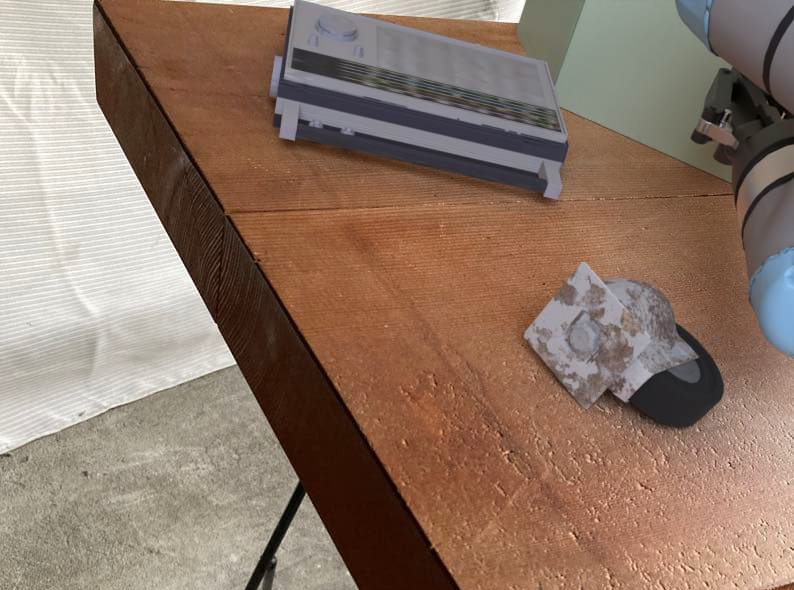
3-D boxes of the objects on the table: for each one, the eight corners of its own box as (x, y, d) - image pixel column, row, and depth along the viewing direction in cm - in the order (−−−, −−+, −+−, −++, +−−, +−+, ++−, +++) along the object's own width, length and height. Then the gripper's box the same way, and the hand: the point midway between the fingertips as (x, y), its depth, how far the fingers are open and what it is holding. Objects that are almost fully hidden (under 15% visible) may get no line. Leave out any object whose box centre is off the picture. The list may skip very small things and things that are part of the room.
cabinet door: (726, 215, 88) (868, -49, 72) (525, 124, 90) (620, -149, 75) (741, 183, 93) (877, -69, 77) (551, 99, 96) (645, -161, 80)
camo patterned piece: (696, 433, 69) (625, 467, 62) (595, 316, 71) (517, 336, 65) (767, 369, 64) (699, 399, 57) (656, 246, 67) (578, 260, 60)
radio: (550, 51, 90) (582, 155, 76) (531, 107, 94) (558, 216, 80) (286, -16, 85) (270, 83, 72) (276, 46, 89) (260, 150, 76)
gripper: (663, 210, 69) (654, 82, 85) (866, 274, 70) (819, 135, 86) (714, 106, 63) (694, -10, 80) (933, 177, 64) (869, 48, 81)
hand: (759, 66), depth 83 cm, fingers open, 2 cm apart
